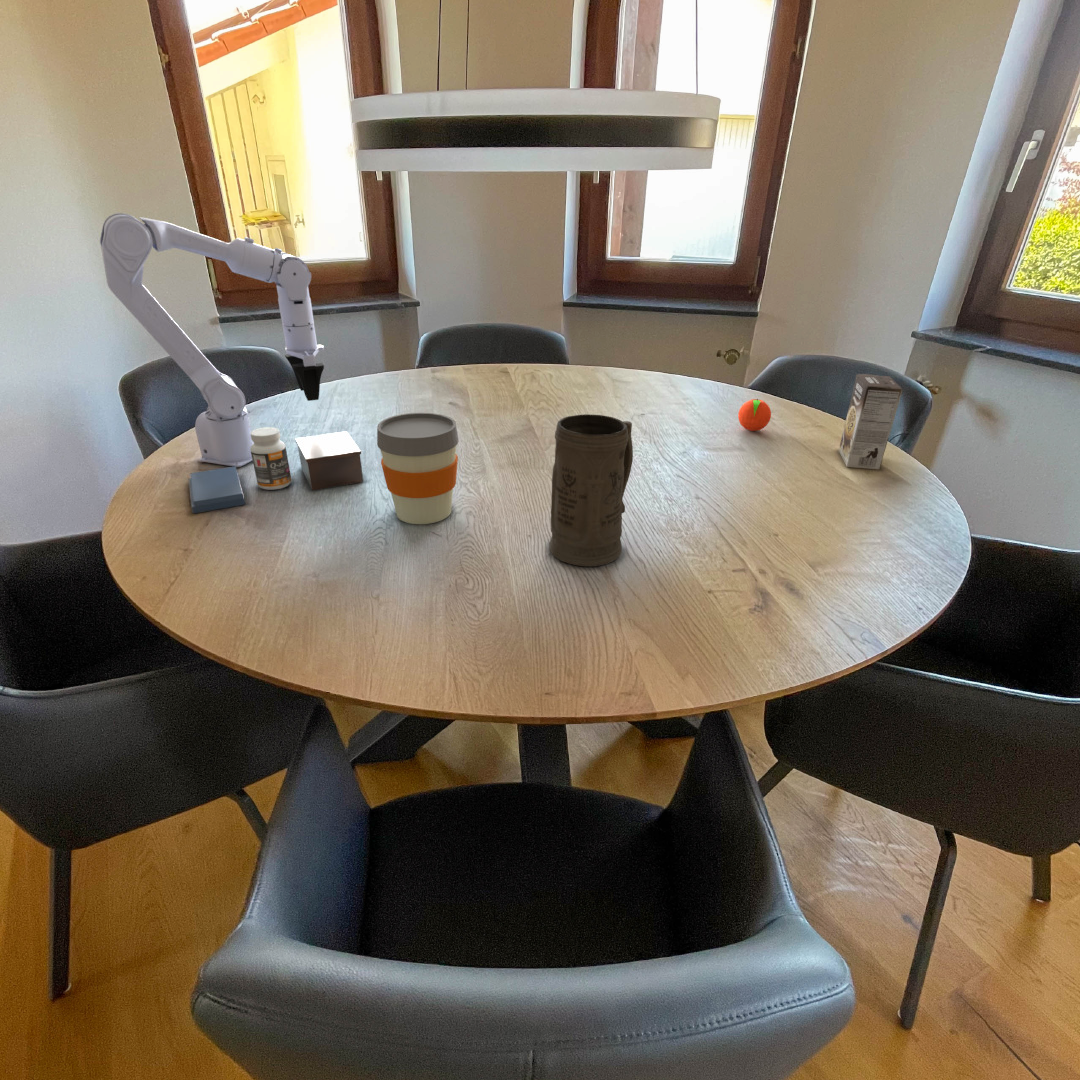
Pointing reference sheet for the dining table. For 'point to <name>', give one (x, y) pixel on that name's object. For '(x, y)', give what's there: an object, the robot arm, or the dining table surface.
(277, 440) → the pill bottle
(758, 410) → the clementine
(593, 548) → the beer stein
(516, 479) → the dining table surface
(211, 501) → the blue flat block
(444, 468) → the reusable coffee cup
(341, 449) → the walnut box
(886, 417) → the coffee box
